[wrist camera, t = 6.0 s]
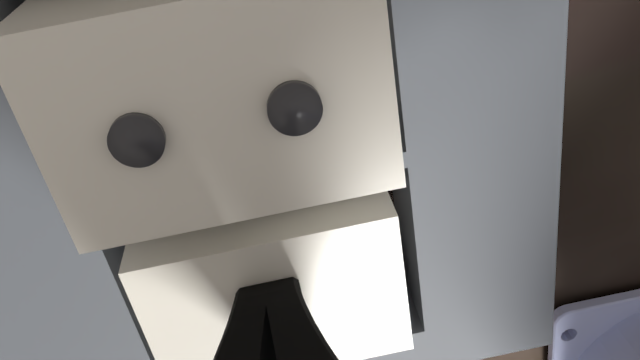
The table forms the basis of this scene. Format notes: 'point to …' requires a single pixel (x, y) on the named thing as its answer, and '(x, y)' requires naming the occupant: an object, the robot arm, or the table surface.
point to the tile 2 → (277, 278)
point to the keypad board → (410, 202)
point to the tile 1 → (201, 109)
